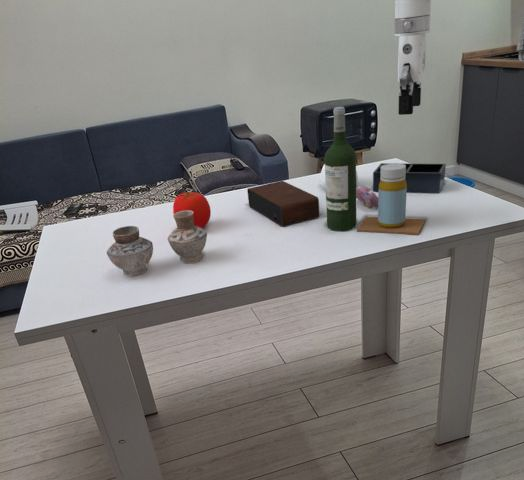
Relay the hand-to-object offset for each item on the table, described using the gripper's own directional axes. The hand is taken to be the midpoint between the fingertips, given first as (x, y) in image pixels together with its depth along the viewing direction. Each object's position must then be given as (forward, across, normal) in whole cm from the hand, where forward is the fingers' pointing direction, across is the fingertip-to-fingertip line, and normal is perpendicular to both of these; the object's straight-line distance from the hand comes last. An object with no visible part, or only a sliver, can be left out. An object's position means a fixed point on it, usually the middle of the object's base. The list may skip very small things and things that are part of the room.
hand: (409, 110), depth 127 cm
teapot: (+28, +30, +27) cm, 50 cm away
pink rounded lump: (+28, +13, +14) cm, 34 cm away
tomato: (+28, -12, +59) cm, 66 cm away
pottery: (+28, -37, +54) cm, 71 cm away
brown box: (+28, +5, +38) cm, 47 cm away
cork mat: (+28, -2, +4) cm, 29 cm away
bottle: (+28, -2, +4) cm, 28 cm away
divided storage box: (+28, +32, +5) cm, 43 cm away
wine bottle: (+28, -4, +17) cm, 33 cm away
